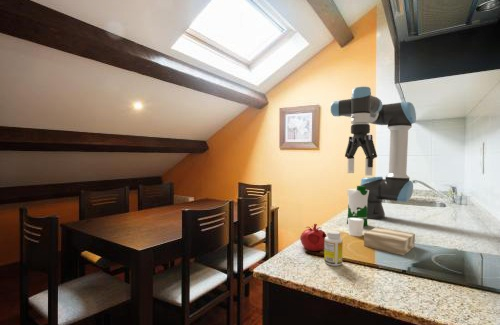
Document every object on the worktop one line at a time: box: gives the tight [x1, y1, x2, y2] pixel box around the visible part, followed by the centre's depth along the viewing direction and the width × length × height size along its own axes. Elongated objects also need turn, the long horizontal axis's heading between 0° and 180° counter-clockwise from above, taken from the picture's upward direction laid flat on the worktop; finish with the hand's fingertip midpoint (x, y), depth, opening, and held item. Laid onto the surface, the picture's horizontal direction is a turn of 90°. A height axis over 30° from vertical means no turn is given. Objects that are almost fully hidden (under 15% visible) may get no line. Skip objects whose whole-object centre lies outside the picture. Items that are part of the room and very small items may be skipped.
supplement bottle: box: [323, 229, 344, 267], centre depth 89 cm, size 6×6×10 cm
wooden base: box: [363, 226, 416, 256], centre depth 107 cm, size 14×14×5 cm
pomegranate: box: [299, 223, 327, 252], centre depth 103 cm, size 10×10×9 cm
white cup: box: [347, 217, 364, 237], centre depth 122 cm, size 7×7×7 cm
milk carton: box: [346, 185, 369, 227], centre depth 140 cm, size 9×9×20 cm
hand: (359, 174), depth 117 cm, fingers open, 13 cm apart
